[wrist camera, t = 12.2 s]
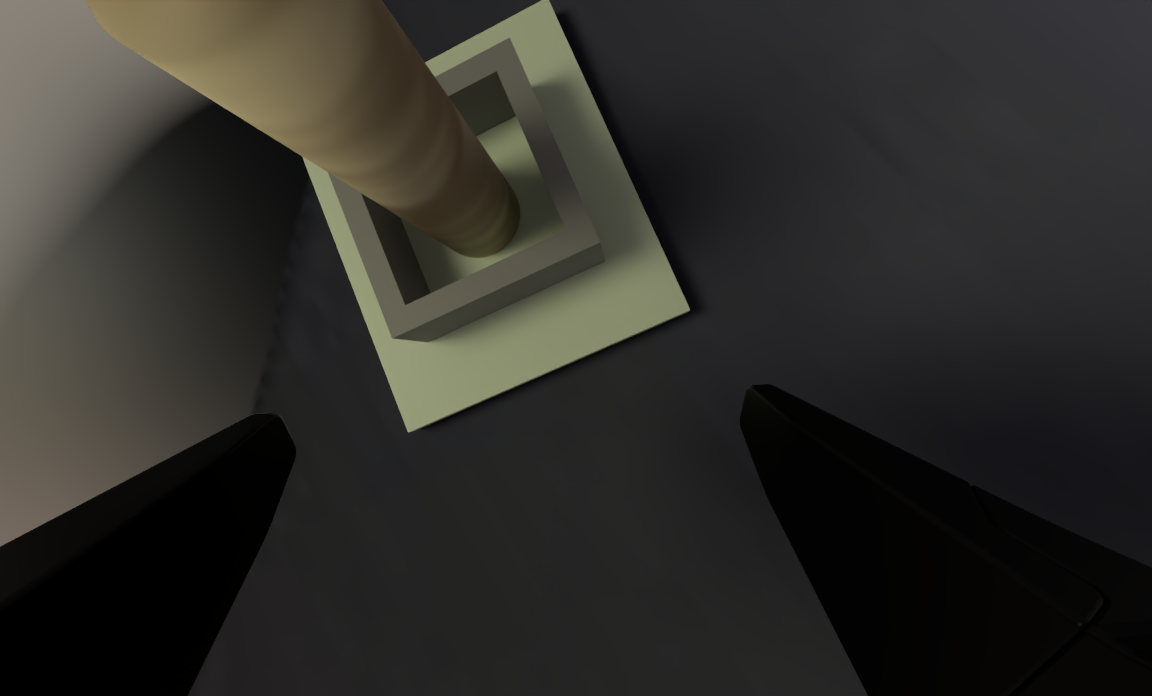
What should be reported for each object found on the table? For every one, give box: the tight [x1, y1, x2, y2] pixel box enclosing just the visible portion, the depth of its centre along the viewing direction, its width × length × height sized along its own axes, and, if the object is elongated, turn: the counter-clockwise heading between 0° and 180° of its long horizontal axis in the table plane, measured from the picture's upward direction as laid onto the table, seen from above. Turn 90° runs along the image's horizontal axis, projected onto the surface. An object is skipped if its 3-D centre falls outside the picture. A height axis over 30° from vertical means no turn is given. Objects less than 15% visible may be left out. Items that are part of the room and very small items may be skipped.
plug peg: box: [86, 0, 520, 258], centre depth 13 cm, size 4×4×13 cm
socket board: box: [302, 0, 690, 433], centre depth 19 cm, size 16×14×4 cm
